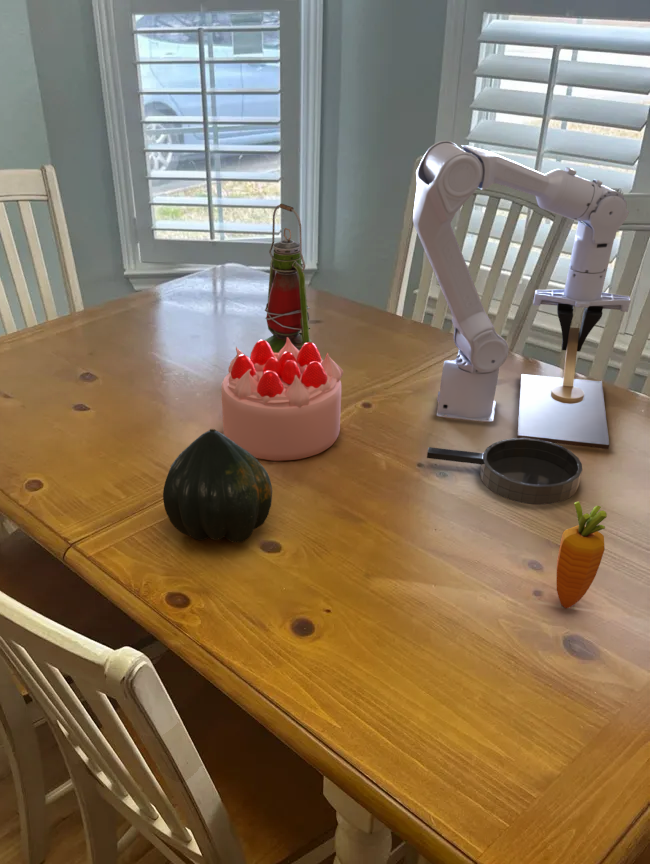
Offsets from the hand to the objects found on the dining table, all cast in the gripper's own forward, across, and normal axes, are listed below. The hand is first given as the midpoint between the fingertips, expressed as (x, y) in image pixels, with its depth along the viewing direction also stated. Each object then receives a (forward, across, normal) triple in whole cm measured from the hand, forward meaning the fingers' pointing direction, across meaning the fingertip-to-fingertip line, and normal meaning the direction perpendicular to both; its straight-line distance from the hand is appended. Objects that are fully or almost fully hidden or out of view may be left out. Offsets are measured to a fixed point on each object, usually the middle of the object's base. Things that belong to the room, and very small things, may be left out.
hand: (570, 348), depth 138 cm
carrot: (+11, +1, -56) cm, 57 cm away
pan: (+10, -5, -27) cm, 30 cm away
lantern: (+10, -51, +6) cm, 52 cm away
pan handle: (+8, -16, -27) cm, 33 cm away
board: (+10, 0, -3) cm, 11 cm away
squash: (+10, -46, -50) cm, 69 cm away
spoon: (+4, 0, -5) cm, 7 cm away
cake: (+10, -45, -22) cm, 51 cm away
